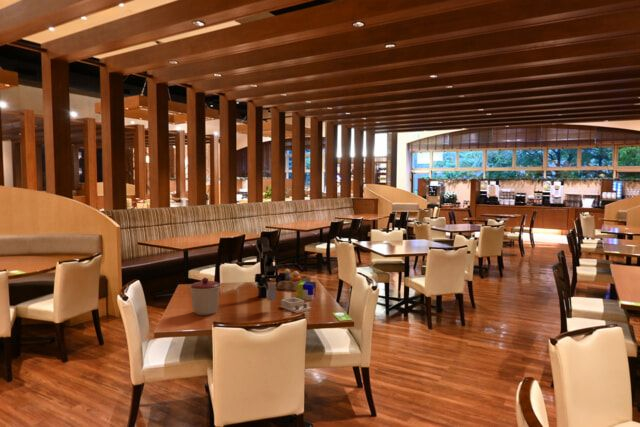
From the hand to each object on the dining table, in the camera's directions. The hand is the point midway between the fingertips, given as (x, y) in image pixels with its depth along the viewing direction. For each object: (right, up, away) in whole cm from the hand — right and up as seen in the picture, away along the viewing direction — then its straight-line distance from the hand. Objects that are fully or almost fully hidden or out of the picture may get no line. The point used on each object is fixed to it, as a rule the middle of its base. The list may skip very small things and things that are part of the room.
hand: (271, 289), depth 265 cm
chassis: (+14, -13, +7) cm, 21 cm away
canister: (-39, -14, -4) cm, 41 cm away
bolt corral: (+7, -9, +68) cm, 69 cm away
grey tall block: (0, -6, +2) cm, 7 cm away
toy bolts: (+9, -9, +70) cm, 71 cm away
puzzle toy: (+20, -12, +34) cm, 41 cm away
